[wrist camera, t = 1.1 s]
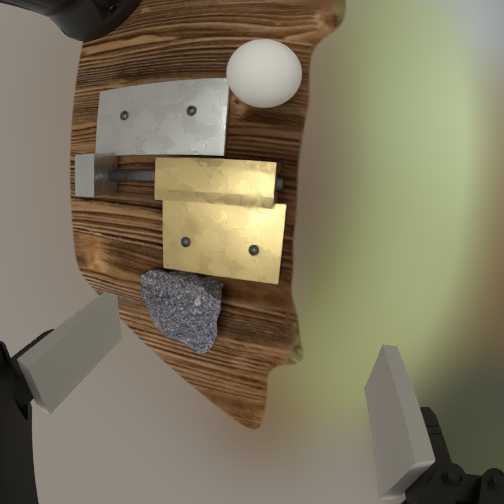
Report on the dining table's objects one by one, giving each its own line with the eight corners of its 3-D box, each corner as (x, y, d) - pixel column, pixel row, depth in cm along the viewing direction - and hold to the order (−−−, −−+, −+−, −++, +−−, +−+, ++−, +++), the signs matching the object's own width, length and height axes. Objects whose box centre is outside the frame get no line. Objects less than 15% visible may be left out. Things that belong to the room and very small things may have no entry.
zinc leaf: (104, 92, 31) (80, 87, 26) (291, 82, 27) (288, 68, 23) (99, 190, 35) (75, 196, 30) (282, 202, 32) (277, 210, 27)
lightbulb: (235, 91, 29) (201, 61, 18) (278, 58, 27) (264, 14, 17) (270, 131, 30) (251, 116, 19) (314, 98, 28) (318, 67, 17)
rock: (220, 289, 31) (212, 366, 33) (234, 276, 36) (226, 346, 38) (128, 267, 33) (129, 339, 35) (151, 259, 39) (149, 325, 41)
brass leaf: (168, 157, 32) (147, 157, 28) (290, 163, 30) (287, 163, 26) (167, 265, 36) (148, 279, 32) (278, 280, 34) (274, 299, 30)
